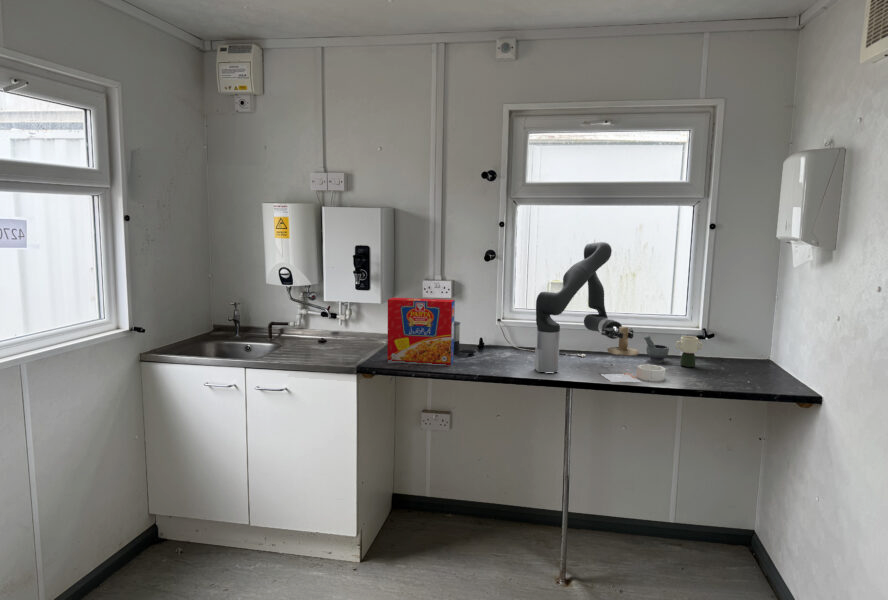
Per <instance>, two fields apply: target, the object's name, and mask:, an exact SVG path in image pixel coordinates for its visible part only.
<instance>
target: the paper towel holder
mask: <svg viewBox="0 0 888 600" xmlns="http://www.w3.org/2000/svg"><path fill="white" fill-rule="evenodd" d="M629 329H630V328H629V326H622V327H620V332H621V333H623V338H622V339H620V338H618V346H611V347H608V348H607V349H606V352H608V353H609V354H613V355H617V356H637V355H639V354H640V353H639V352H640V351H639V350H638V349H635V348H631V347H628V346H629V338H628V332H629Z"/></svg>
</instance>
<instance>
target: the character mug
mask: <svg viewBox="0 0 888 600" xmlns="http://www.w3.org/2000/svg"><path fill="white" fill-rule="evenodd" d="M679 344H680V346H679ZM675 349H680V352H682V353H681V357H680V362H679V364H680V366H683V367H687V368H694V367H696V355H695V354H696V353H697V352H698V350H702V349H703V342H702V341H699V338H698V337H697V336H692V335H691V336H690V335H683V336H681V337H680V340H677V341H676V342H675Z"/></svg>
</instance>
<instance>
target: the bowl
mask: <svg viewBox="0 0 888 600" xmlns="http://www.w3.org/2000/svg"><path fill="white" fill-rule="evenodd" d="M636 376H637V377H636V378H638V379H639V380H643V381H648V380H649V381H650V382H663V381H664V380H665V379H666V368H665V367H663V366H661V365H655V364H639V365H637V366H636Z"/></svg>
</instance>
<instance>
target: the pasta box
mask: <svg viewBox="0 0 888 600" xmlns="http://www.w3.org/2000/svg"><path fill="white" fill-rule="evenodd" d="M455 301H456V300H455V299H441V298H440V299H439V298H416V297H415V298H413V297H390V298H388V299H387V361H388V360H392V361H405V362H417V363H432V364H446V365H451V364H452V363H453V364H454V362H455V359H454V358H455V357H454V355H455V354H454V321H455V312H456V311H455V309H456V308H455V305H456V304H455ZM453 361H454V362H453ZM453 364H452V365H453ZM452 365H451V366H452Z"/></svg>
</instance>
